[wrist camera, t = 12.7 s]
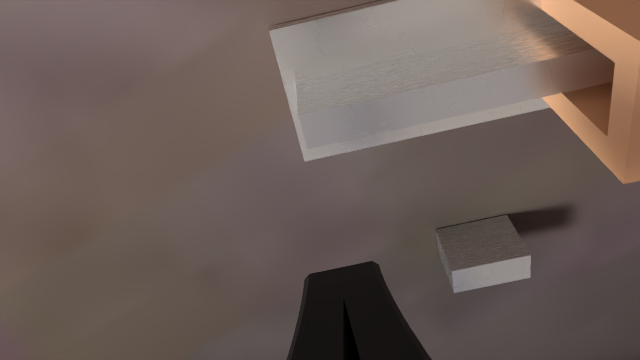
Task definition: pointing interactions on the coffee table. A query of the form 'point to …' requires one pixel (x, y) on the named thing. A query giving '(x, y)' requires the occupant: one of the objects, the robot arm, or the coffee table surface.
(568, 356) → the coffee table surface
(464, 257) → the wooden toy block
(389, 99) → the rail
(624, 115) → the clip
